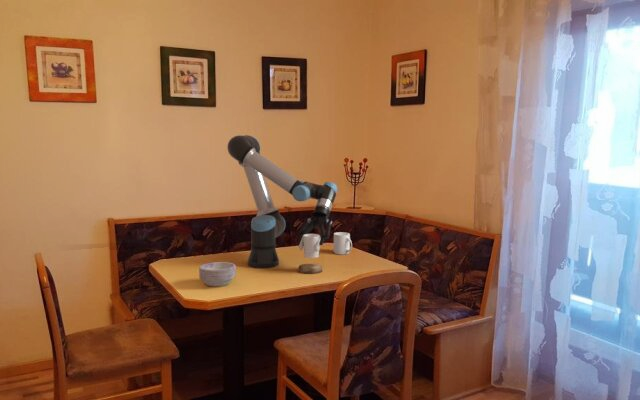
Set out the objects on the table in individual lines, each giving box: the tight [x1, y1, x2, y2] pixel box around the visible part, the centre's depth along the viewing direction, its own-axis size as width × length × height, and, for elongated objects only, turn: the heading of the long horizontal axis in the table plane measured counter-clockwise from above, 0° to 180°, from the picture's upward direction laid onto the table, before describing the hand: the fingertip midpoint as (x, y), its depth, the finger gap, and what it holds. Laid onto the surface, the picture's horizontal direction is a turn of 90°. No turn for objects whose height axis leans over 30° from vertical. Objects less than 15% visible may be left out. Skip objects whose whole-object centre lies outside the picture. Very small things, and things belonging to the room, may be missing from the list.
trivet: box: [298, 263, 323, 275], centre depth 241 cm, size 11×11×2 cm
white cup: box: [303, 233, 321, 259], centre depth 240 cm, size 8×8×10 cm
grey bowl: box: [198, 261, 237, 287], centre depth 218 cm, size 15×15×8 cm
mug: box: [333, 231, 353, 256], centre depth 276 cm, size 9×12×11 cm
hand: (308, 249), depth 237 cm, fingers closed on white cup, 8 cm apart
